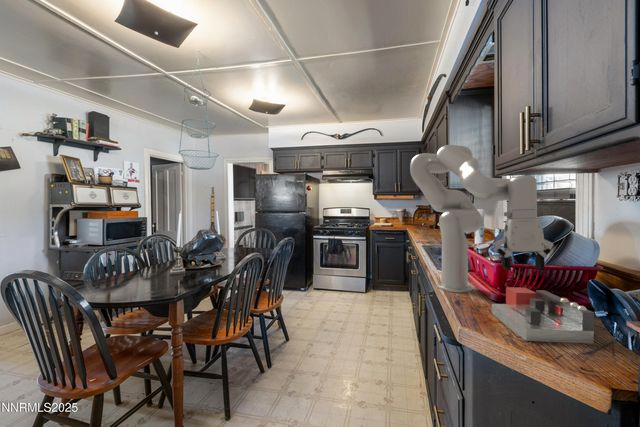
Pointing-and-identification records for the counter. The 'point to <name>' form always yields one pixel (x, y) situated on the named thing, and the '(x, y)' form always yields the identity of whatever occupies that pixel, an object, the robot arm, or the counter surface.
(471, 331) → the counter surface
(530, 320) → the block
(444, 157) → the robot arm
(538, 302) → the block
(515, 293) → the matte red cuboid
